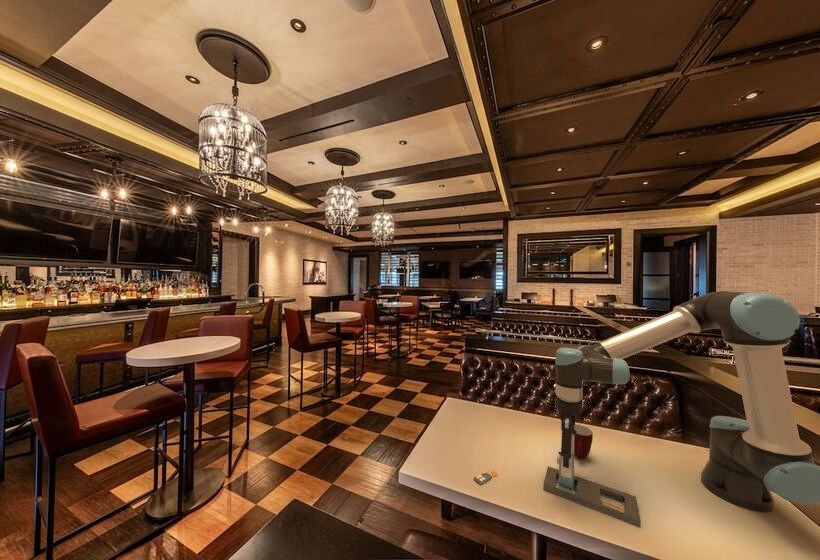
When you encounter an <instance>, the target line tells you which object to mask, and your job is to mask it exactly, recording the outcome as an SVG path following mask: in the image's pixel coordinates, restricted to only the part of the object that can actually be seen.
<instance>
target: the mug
mask: <svg viewBox="0 0 820 560" xmlns="http://www.w3.org/2000/svg"><path fill="white" fill-rule="evenodd" d="M574 426H575V428H574V430H576V431H577V434H574V433H573V434H574V455H573V456H575V458H577V459H580V460H585V459H586V458H587V457H588V456H589V454H590V452H591V449H592V443H593V441H594V440H593V437H594V436H593V431H592V430H591V429H590V428H589V427H587V426H584V425H581V424H578V423H577V424H576V423H575V425H574Z"/></svg>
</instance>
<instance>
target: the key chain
mask: <svg viewBox="0 0 820 560" xmlns="http://www.w3.org/2000/svg"><path fill="white" fill-rule="evenodd" d="M500 474H501V475H503V472H501V471H500V472H496V471H495V470H492V471H490V473H488V472H484V473H481V474H478V475H476V476H474V477H473V481H474V482H475V483H476V484H478V485H479V486H483V485H485V484H487V483H488V482H490V481H491V480H492V479H493V477H498V475H500Z"/></svg>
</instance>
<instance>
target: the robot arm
mask: <svg viewBox="0 0 820 560" xmlns="http://www.w3.org/2000/svg"><path fill="white" fill-rule="evenodd" d="M800 324H801V318H800V314H799V313H798V310H797V309H796V308H795V307H794V306H793V305H792V303H790V302H789V301H787V300H785V299H783V298H782V297H780V296H777V295H773V294H769V293H768V294H767V293H761V292H757V291H756V292H751V291H750V292H749V291H747V292H746V291H729V290H728V291H727V290H726V291H725V290H724V291H723V290H720V291H719V290H718V291H713V292H709V293H706V294H703V295H700V296H697V297H695V298H693V299H690V300H687V301H686V302H683V303H681V304H678V305H676V306H674V307H673V309H672V311H670V312H668V313H666V314H663V315H661V316H659V317H656V318H654V319H651V320H648V321H646V322H644V323H642V324H639V325H637V326H635V327H633V328H631V329H628V330H626V331H625V330H624V331H623V332H620V333H619V334H616V335H615V336H612V337H609V338H607V339H604V340H602V341H600V342H597V343H595V344H592V345H581V346H579V347H577V348H573V347H559V348H558V349H556V353H555V362H554V364H555V384H553V388H555V400H554V401H555V403H554V406H555V409H557V411H559V412H561V416H560V422H561V423H560V427H561V428H560V430H561V440H560V441H561V442H560V443H561V446H560V451H558V454H559V455H561V475H562V476H564V477H567V478H570V479H571V473H572V456H574V434H577V431H576V430H574V428H575V426H574V425H575V424H576V421H577V420H576V419H577V417H576V416H578V415H581V414H582V413H583V401H582V400H583V397H584V396H583V393H584V392H583V390H584V388H583V382H590V383H591V382H594V383H600V384H602V383H603V384H610V385H611V384H612V385H626V384H627V383H628V382H629V381H630V377H631V376H630V375H631V372H630V368H629V365H628V363H627V361H625V360H624V359H626V358H628V357H631V356H633V355H635V354H638V353H641V352H644V351H646V350H648V349H649V350H650V349H651V348H654V347H656V346H658V345H661V344H663V343H666V342H668V341H671V340H673V339H675V338H679V337H681V336H683V335H687V334H689V333H692V334H693V333H694V334H699V333H701V332H703V331H707V330H713V329H714V330H715V329H716V330H721V331H720V332H721V336H722V341H723V342H724V343H725V344H727V345H729V347H731V348H732V351H733V356H734V362H735V365H736V366H735V367H736V372H737V376H738V382H739V387H740V392H741V397H742V401H743V406H744V412H745V418H746V419H743V418H738V417H732V416H727V415H726V416H725V415H715V416H713V417H711V419H710V422H709V423H710V424H709V453H708V455H709V456H708V457H709V458H708V460H707V462H706V464H705V466H704V468H703V469H702V470H701V474H700V481H701V483H702V485H703V486H704V487H705V488H706V489H707V490H709V491H710V492H711V493H712V494H714V495H715V496H717V497H719V498H721V499H722V500H725V501H727V502H728V503H732V504H733V505H736V506H738V507H741V508H744V509H747V510H751V511H756V512H762V513H763V512H764V513H765V512H766V513H768V512H769V513H770V512H772V511H773V510H774V507H775V499H774V497H773V495H772V493H773V494H776V495H777V496H779V497H781V498H782V499H783V500H786V501H788V502H790V503H793V504H797V505H805V506H806V505H807V506H808V505H816V504H820V466H819V465H817V464H816V463H815V460H814V456H813V451H812V448H811V446H810V445H809V444H808V443H807V442H805V441H803V440H802V439H800V438H801V437H800V435H799V430H798V424H797V417H796V414H795V408H794V405H793V400H792V394H791V389H790V384H789V379H788V375H787V370H786V364H785V361H784V355H783V348H784V347H786V346H788V345H790V337H792V336H793V335H794V334H795V333H796V330H799V327H800ZM573 433H574V434H573ZM571 455H572V456H571Z"/></svg>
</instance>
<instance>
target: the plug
mask: <svg viewBox="0 0 820 560" xmlns="http://www.w3.org/2000/svg"><path fill="white" fill-rule="evenodd" d="M571 456H572V473H571V479H570V478H567V477H564V476H562V475H561V455H560V454H559V453H557V454H556V464H557V465H558V470H559V479H558V485H560V486H562V487H565V488H568V489H571V490H573V491H575V490H574V489H575V485H574V475H575V459H576V457H575V456H574V455H573V454H571Z"/></svg>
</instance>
